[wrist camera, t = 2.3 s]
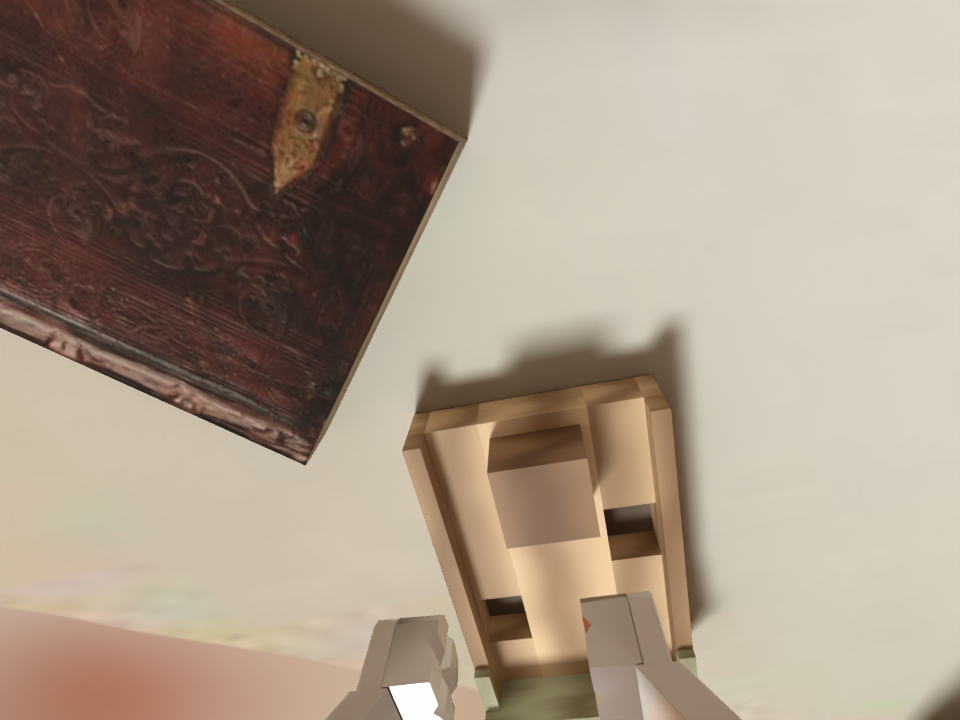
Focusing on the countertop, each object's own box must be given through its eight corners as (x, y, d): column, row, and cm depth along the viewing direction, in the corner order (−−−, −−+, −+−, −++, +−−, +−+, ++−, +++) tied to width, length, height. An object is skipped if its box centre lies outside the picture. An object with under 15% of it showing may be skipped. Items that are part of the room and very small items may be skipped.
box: (652, 374, 30) (679, 424, 25) (680, 642, 38) (704, 718, 33) (414, 414, 32) (396, 467, 27) (491, 660, 40) (488, 735, 35)
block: (579, 424, 29) (587, 458, 26) (592, 497, 31) (600, 536, 28) (489, 438, 29) (487, 473, 26) (507, 509, 31) (506, 548, 28)
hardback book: (-162, 195, 29) (-288, 209, 24) (-161, -226, 22) (-342, -319, 17) (330, 425, 33) (300, 473, 29) (468, 138, 26) (459, 142, 21)
